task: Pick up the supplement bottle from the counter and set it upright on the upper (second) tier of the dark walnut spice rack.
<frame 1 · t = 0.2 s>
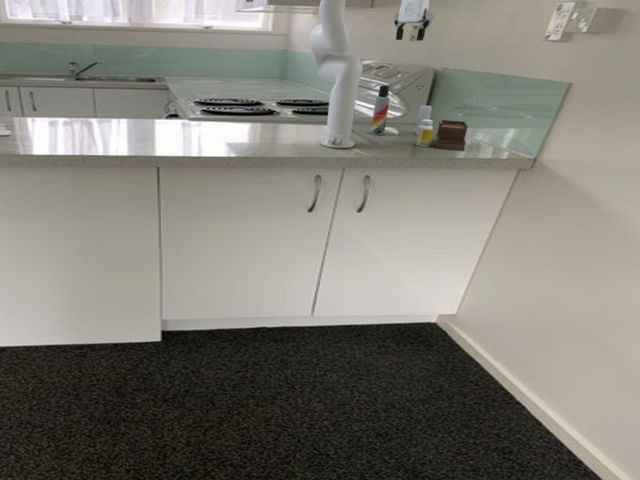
hand: (409, 40, 163), 37 cm above the countertop, tool pointing down, fingers open, 9 cm apart
spice rack: (448, 145, 167), on the countertop
lotion bottle: (377, 134, 185), on the countertop
supplement bottle: (421, 145, 166), on the countertop
pale translucent container: (420, 135, 186), on the countertop
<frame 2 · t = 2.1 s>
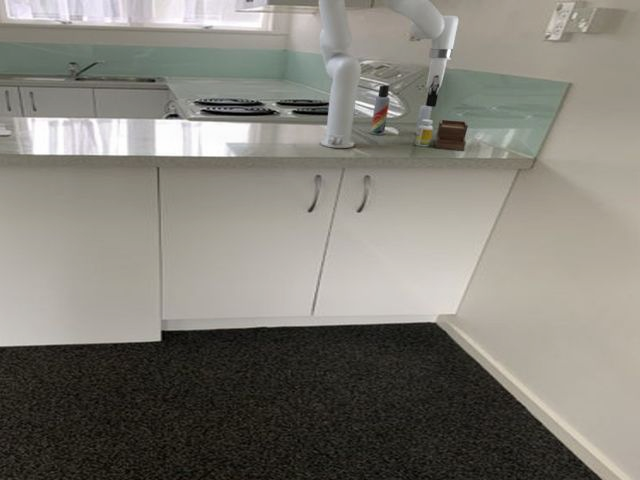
hand: (430, 104, 159), 15 cm above the countertop, tool pointing down, fingers open, 9 cm apart
nothing on the countertop moved.
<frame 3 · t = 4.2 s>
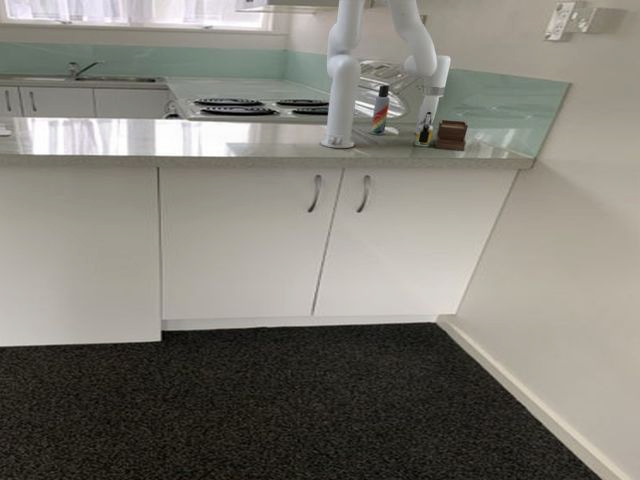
hand: (423, 140, 165), 2 cm above the countertop, tool pointing down, fingers closed on supplement bottle, 5 cm apart
supplement bottle: (421, 145, 166), on the countertop, touching gripper
everything else where it was.
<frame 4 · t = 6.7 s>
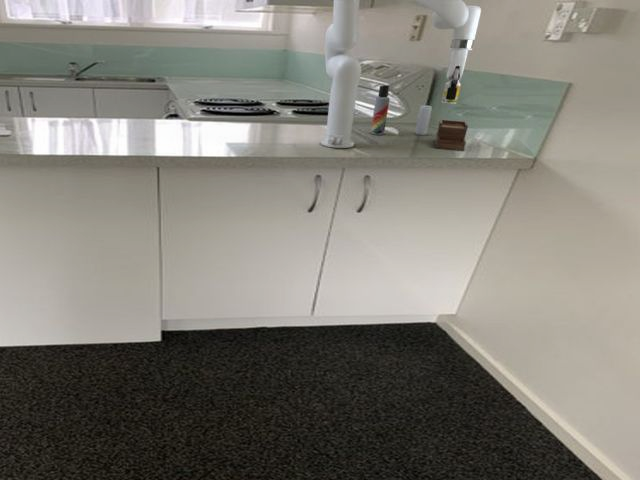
hand: (450, 97, 160), 18 cm above the countertop, tool pointing down, fingers closed on supplement bottle, 5 cm apart
supplement bottle: (448, 103, 161), point 16 cm above the countertop, touching gripper
everything else where it was.
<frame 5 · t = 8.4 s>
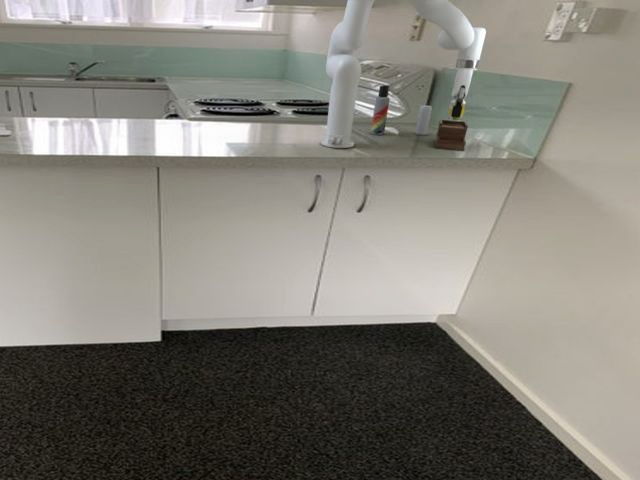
hand: (455, 115, 164), 11 cm above the countertop, tool pointing down, fingers closed on supplement bottle, 5 cm apart
supplement bottle: (453, 121, 165), point 9 cm above the countertop, touching gripper
everything else where it was.
when the fingers open (9 cm above the countertop, at t = 9.4 s): supplement bottle stays where it is, resting on spice rack.
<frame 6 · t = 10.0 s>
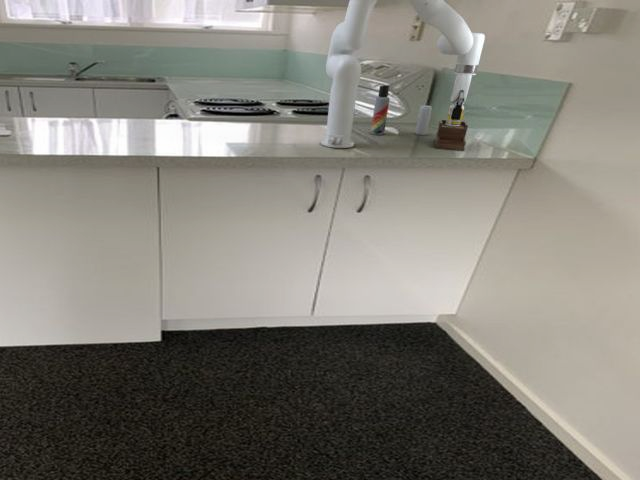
hand: (454, 117, 165), 10 cm above the countertop, tool pointing down, fingers open, 9 cm apart
supplement bottle: (452, 126, 166), point 7 cm above the countertop, touching spice rack
everything else where it was.
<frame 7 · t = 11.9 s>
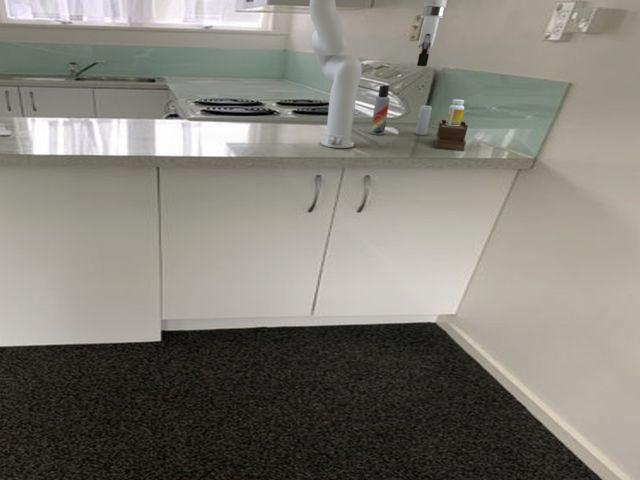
hand: (421, 65, 158), 28 cm above the countertop, tool pointing down, fingers open, 9 cm apart
nothing on the countertop moved.
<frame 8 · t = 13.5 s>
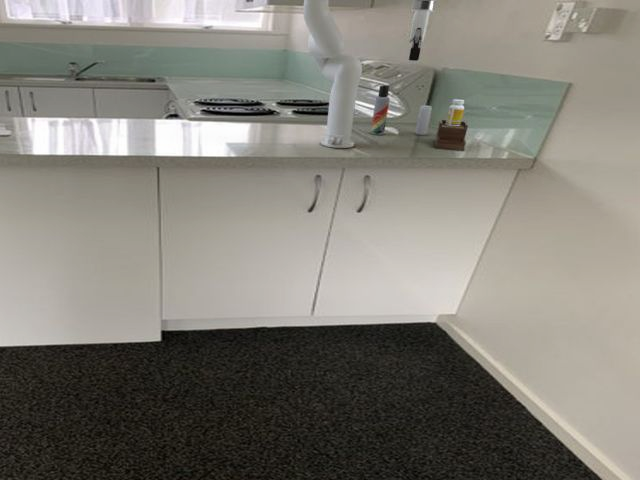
hand: (413, 60, 158), 30 cm above the countertop, tool pointing down, fingers open, 9 cm apart
nothing on the countertop moved.
at the end: supplement bottle inside the target area on the spice rack (0.1 cm from its centre), point 7.1 cm above the spice rack's base; supplement bottle tilted 0°; the gripper is holding nothing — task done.
